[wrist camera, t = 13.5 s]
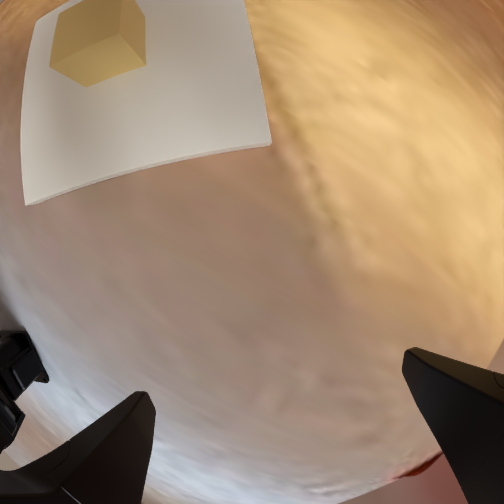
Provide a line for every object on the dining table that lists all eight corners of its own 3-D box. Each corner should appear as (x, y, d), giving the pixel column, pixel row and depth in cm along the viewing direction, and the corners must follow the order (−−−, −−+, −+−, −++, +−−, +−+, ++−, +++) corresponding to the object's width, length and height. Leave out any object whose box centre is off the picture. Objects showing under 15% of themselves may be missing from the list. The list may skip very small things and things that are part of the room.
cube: (86, 87, 15) (49, 67, 10) (89, 39, 14) (58, 13, 9) (146, 65, 15) (119, 33, 10) (145, 17, 14) (123, -17, 9)
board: (35, 203, 18) (25, 205, 16) (43, 25, 13) (36, 20, 12) (269, 145, 18) (271, 142, 16) (232, -40, 13) (231, -49, 12)
